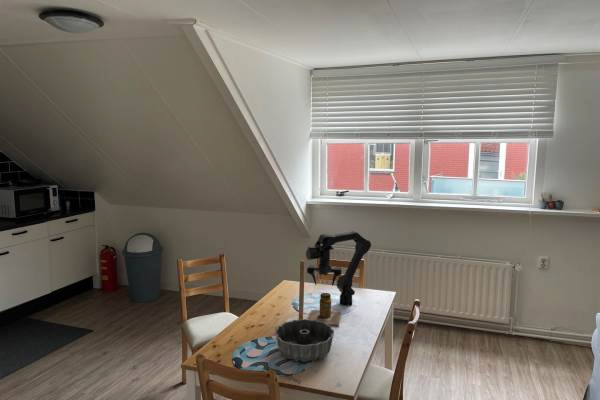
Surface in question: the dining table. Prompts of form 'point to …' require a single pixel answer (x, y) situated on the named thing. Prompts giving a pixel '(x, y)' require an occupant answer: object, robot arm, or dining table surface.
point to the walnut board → (333, 322)
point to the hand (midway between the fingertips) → (324, 285)
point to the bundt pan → (304, 339)
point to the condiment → (325, 307)
